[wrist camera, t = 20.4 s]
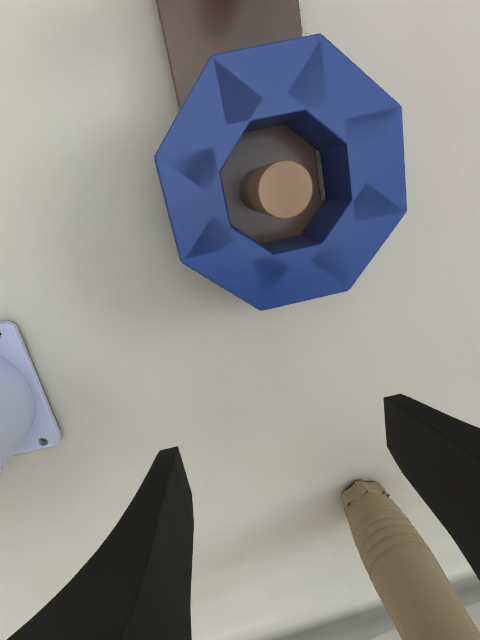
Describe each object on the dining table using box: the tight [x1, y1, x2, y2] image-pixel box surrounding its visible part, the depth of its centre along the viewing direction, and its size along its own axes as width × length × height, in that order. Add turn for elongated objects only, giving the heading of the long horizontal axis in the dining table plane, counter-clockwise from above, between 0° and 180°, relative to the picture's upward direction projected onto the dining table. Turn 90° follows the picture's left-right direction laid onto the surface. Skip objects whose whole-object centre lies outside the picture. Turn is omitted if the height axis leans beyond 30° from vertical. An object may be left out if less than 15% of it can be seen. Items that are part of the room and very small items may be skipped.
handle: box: [342, 480, 480, 640], centre depth 21 cm, size 5×6×15 cm
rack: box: [156, 0, 321, 244], centre depth 15 cm, size 6×15×7 cm, turn 11°
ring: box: [154, 34, 407, 310], centre depth 17 cm, size 10×10×3 cm
